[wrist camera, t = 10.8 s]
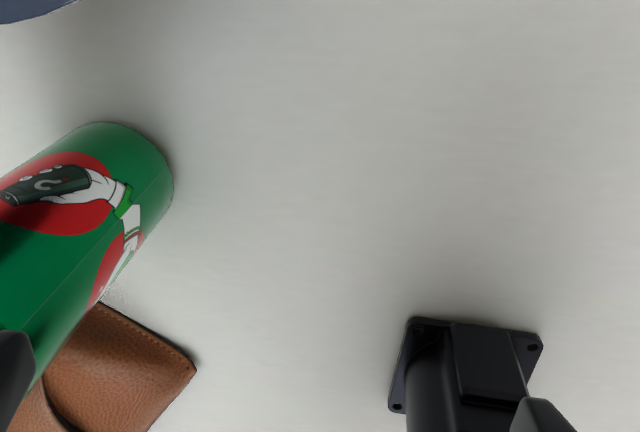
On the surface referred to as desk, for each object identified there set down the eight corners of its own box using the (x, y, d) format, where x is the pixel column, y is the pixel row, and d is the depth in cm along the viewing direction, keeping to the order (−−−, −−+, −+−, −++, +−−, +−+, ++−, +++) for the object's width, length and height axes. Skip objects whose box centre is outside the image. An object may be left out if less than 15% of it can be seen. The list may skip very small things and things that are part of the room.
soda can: (44, 133, 22) (-266, 319, 11) (147, 104, 20) (-92, 282, 10) (100, 231, 24) (-114, 461, 13) (196, 209, 23) (41, 444, 12)
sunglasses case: (101, 511, 35) (1, 586, 30) (49, 431, 37) (-54, 487, 32) (206, 363, 27) (94, 428, 21) (131, 270, 29) (11, 307, 23)
